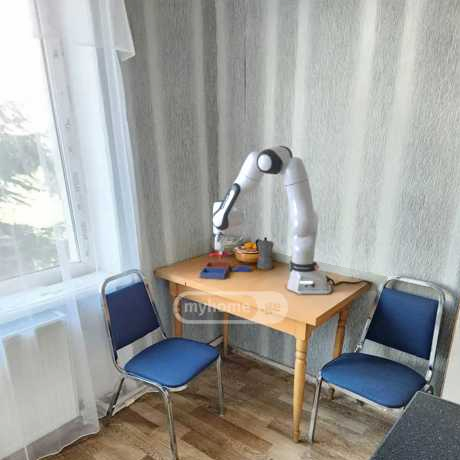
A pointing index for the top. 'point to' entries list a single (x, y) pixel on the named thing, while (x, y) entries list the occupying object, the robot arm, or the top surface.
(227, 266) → the red bin
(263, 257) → the coffeepot
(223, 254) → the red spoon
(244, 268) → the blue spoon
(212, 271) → the blue bin
